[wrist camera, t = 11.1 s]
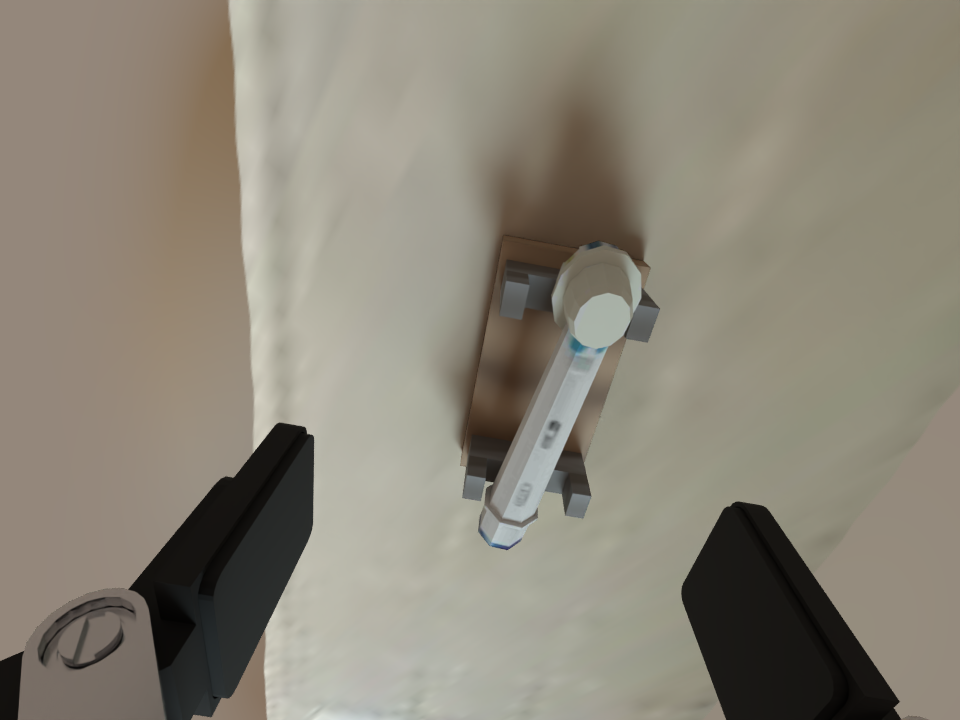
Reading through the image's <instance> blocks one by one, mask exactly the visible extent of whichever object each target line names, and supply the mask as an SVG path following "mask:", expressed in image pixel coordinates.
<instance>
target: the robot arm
mask: <svg viewBox="0 0 960 720" xmlns="http://www.w3.org/2000/svg"><path fill="white" fill-rule="evenodd" d="M313 485H314V437H313V435H310V434H307V430H306V428H305V427H302V426H297V425H291V424H285V423H277V424H276V425H275V426H274V428H273V429H272V430H271V431H270V433H269V434H268V435H267V436H266V438H265V439H264V440H263V441H262V443H261V444H260V445H259V447H258V448H257V449H256V450H255V452H254V453H253V454H252V455H251V457H250V458H249V459H248V460H247V462H246V463H245V464H244V466H243V467H242V468H241V469H240V471H239V472H238V473H237V474H236V476H235V477H234V478H232V477H224V478H222V479H220V480H219V481H218V482H217V483H216V484H215V485H214V486H213V488H212V489H211V490H210V491H209V493H208V494H207V495H206V496H205V498H204V499H203V500H202V501H201V502H200V504H199V505H198V506H197V507H196V508H195V509H194V511H193V512H192V513H191V514H190V516H189V517H188V518H187V519H186V520H185V522H184V523H183V524H182V525H181V527H180V528H179V529H178V530H177V531H176V532H175V534H174V535H173V536H172V537H171V538H170V540H169V541H168V542H167V543H166V545H165V546H164V547H163V548H162V549H161V551H160V552H159V553H158V554H157V555H156V557H155V558H154V559H153V560H152V561H151V563H150V564H149V565H148V566H147V567H146V569H145V570H144V571H143V572H142V574H141V575H140V576H139V577H138V578H137V580H136V581H135V582H134V583H133V584H132V586H131V587H130V588H129V589H128V590H127V589H123V588H112V589H103V590H99V591H95V592H91V593H87V594H85V595H83V596H81V597H78V598H76V599H74V600H72V601H69V602H68V603H66V604H65V605H63V606H62V607H60V608H59V609H57V610H56V611H54V612H53V613H51V614H50V615H49V616H48V617H47V618H46V619H45V620H44V621H43V622H42V623H41V624H40V625H39V626H38V627H37V628H36V629H35V631H34V632H33V634H32V635H31V637H30V638H29V640H28V641H27V643H26V646H25V650H24V651H23V652H20V653H18V654H16V655H13V656H11V657H9V658H7V659H4V660H2V661H0V720H191V718H192V716H193V715H201V716H207V717H212V715H213V713H214V711H215V709H216V707H217V705H218V703H219V701H220V699H221V698H230V697H231V696H232V694H233V693H234V691H235V689H236V688H237V685H238V683H239V681H240V679H241V677H242V675H243V673H244V671H245V669H246V667H247V665H248V663H249V661H250V659H251V657H252V655H253V653H254V651H255V649H256V647H257V644H258V642H259V640H260V638H261V636H262V634H263V632H264V630H265V628H266V626H267V624H268V622H269V620H270V618H271V616H272V614H273V612H274V610H275V608H276V605H277V603H278V601H279V599H280V597H281V595H282V593H283V591H284V589H285V587H286V585H287V583H288V581H289V579H290V577H291V575H292V573H293V571H294V569H295V567H296V564H297V562H298V560H299V558H300V556H301V554H302V552H303V550H304V548H305V546H306V544H307V542H308V540H309V537H310V534H311V531H312V526H313ZM681 595H682V601H683V604H684V607H685V610H686V612H687V615H688V618H689V620H690V623H691V626H692V628H693V631H694V634H695V637H696V639H697V642H698V645H699V647H700V650H701V653H702V656H703V658H704V661H705V664H706V666H707V669H708V672H709V674H710V677H711V680H712V683H713V685H714V688H715V691H716V693H717V696H718V699H719V702H720V704H721V707H722V710H723V712H724V715H725V718H726V720H928V719H925V718H922V717H917V716H907V717H905V718H903V719H901V718H900V717H899V715H898V714H897V712H896V711H895V709H894V707H895V706H896V705H897V704H898V703H899V700H898V699H897V697H896V696H895V694H894V693H893V691H892V690H891V688H890V687H889V685H888V684H887V682H886V681H885V679H884V678H883V677H882V675H881V674H880V672H879V671H878V669H877V668H876V666H875V665H874V663H873V662H872V661H871V659H870V658H869V656H868V655H867V653H866V652H865V650H864V649H863V647H862V646H861V644H860V643H859V641H858V640H857V639H856V637H855V636H854V634H853V633H852V631H851V630H850V628H849V627H848V625H847V624H846V622H845V621H844V620H843V618H842V617H841V615H840V614H839V612H838V611H837V609H836V608H835V607H834V605H833V604H832V602H831V601H830V599H829V598H828V596H827V595H826V593H825V592H824V590H823V589H822V588H821V586H820V585H819V583H818V582H817V580H816V579H815V577H814V576H813V574H812V573H811V571H810V570H809V568H808V567H807V566H806V564H805V563H804V561H803V560H802V558H801V557H800V555H799V554H798V552H797V551H796V549H795V548H794V547H793V545H792V544H791V542H790V541H789V539H788V538H787V536H786V535H785V533H784V532H783V530H782V529H781V528H780V526H779V525H778V523H777V522H776V520H775V519H774V517H773V516H772V514H771V513H770V511H769V510H768V509H767V508H766V507H764V506H762V505H756V504H750V503H744V502H735V503H733V504H732V505H731V506H730V507H726V508H724V510H723V511H722V513H721V515H720V517H719V519H718V520H717V522H716V524H715V526H714V528H713V530H712V532H711V533H710V535H709V537H708V539H707V541H706V543H705V544H704V546H703V548H702V550H701V552H700V554H699V555H698V557H697V559H696V561H695V563H694V565H693V566H692V568H691V570H690V572H689V574H688V576H687V578H686V579H685V581H684V583H683V586H682V591H681Z"/></svg>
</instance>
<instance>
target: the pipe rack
mask: <svg viewBox="0 0 960 720" xmlns="http://www.w3.org/2000/svg"><path fill="white" fill-rule="evenodd" d="M578 250H579V249H576V248H571V247H565V246H560V245H555V244H549V243H544V242H538V241H533V240H528V239H522V238H517V237H511V236H506V235H504V236H503V241H502V246H501V251H500V257H499V262H498V267H497V272H496V278H495V283H494V288H493V293H492V298H491V304H490V309H489V314H488V319H487V325H486V330H485V335H484V340H483V345H482V351H481V356H480V361H479V366H478V372H477V377H476V382H475V387H474V393H473V398H472V403H471V408H470V413H469V419H468V424H467V429H466V434H465V440H464V445H463V450H462V456H461V463H460V466H465V467H466V473H465V481H464V489H463V497H462V498H465V499H471V500H477V501H481V497H482V493H483V488H484V484H485V481H489V482H494V481H495V479H496V477H497V475H498V473H499V470H500V468H501V466H502V464H503V461H504V459H505V457H506V455H507V453H508V450H509V448H510V446H511V444H512V442H513V439H514V437H515V435H516V433H517V431H518V428H519V426H520V424H521V422H522V419H523V417H524V415H525V413H526V411H527V408H528V406H529V404H530V402H531V400H532V397H533V395H534V393H535V391H536V388H537V386H538V384H539V382H540V380H541V377H542V375H543V373H544V371H545V369H546V366H547V364H548V362H549V360H550V357H551V355H552V353H553V351H554V349H555V346H556V344H557V342H558V340H559V338H560V335H561V333H562V330H561V328H560V327H559V326H558V325H557V324H556V323H555V321H554V313H553V306H552V297H551V294H552V292H553V289H554V286H555V284H556V280H557V277H558V274H559V272H560V269H561V267H562V264H563V262H566V261H567V260H568V259H569V258H570V257H571V256H572V255H573V254H574V253H575V252H577V251H578ZM632 261H633V262H634V263H635V265H636V266H637V268H638V269H639V271H640V273H641V300H640V302H639V304H638V306H637V308H636V310H635V311H634V313H633V317H632V319H631V321H630V323H629V325H628V327H627V329H626V331H625V333H624V335H623V336H622V337H621V338H620V339H618V340H617V341H616V342H615V343H613V344H612V345H611V346H608V348H607V350H606V353H605V355H604V357H603V360H602V362H601V364H600V366H599V369H598V371H597V373H596V375H595V378H594V380H593V382H592V384H591V387H590V389H589V391H588V394H587V396H586V398H585V400H584V403H583V405H582V407H581V409H580V412H579V414H578V416H577V418H576V421H575V423H574V425H573V427H572V430H571V432H570V434H569V437H568V439H567V441H566V443H565V446H564V448H563V450H562V452H561V455H560V457H559V459H558V461H557V464H556V466H555V468H554V471H553V473H552V475H551V477H550V480H549V482H548V484H547V486H546V489H545V491H547V492H553V493H559V494H562V497H563V504H564V511H565V516H571V517H577V518H584V515H585V512H586V510H587V507H588V504H589V501H590V499H591V493H590V488H589V484H588V480H587V475H586V471H585V466H584V462H585V459H586V456H587V453H588V450H589V447H590V444H591V441H592V438H593V435H594V432H595V429H596V427H597V424H598V421H599V418H600V415H601V412H602V409H603V406H604V403H605V400H606V397H607V394H608V391H609V389H610V386H611V383H612V380H613V377H614V374H615V371H616V368H617V365H618V362H619V359H620V356H621V354H622V351H623V348H624V345H625V342H626V339H631V340H636V341H642V342H647V343H648V340H649V338H650V335H651V332H652V329H653V327H654V324H655V321H656V318H657V316H658V313H659V310H660V308H659V307H658V306H657V305H656V304H655V302H654V301H653V300H652V299H651V298H650V297H649V295H648V294H647V293H646V292H645V291H644V286H645V283H646V280H647V278H648V275H649V272H650V269H651V268H650V267H649V266H648V265H647V264H646V263H645V262H644V261H641V260H635V259H632Z"/></svg>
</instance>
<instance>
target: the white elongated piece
mask: <svg viewBox="0 0 960 720" xmlns="http://www.w3.org/2000/svg"><path fill="white" fill-rule="evenodd" d="M551 297H552V306H553V313H554V321H555V323H556V324H557V325H558V326H559V327H560V328H561V330H562V333H561V335H560V338H559V340H558V342H557V344H556V346H555V349H554V351H553V353H552V355H551V357H550V360H549V362H548V364H547V366H546V369H545V371H544V373H543V375H542V377H541V380H540V382H539V384H538V386H537V388H536V391H535V393H534V395H533V397H532V400H531V402H530V404H529V406H528V408H527V411H526V413H525V415H524V417H523V419H522V422H521V424H520V426H519V428H518V431H517V433H516V435H515V437H514V439H513V442H512V444H511V446H510V448H509V450H508V453H507V455H506V457H505V459H504V461H503V464H502V466H501V468H500V470H499V473H498V475H497V477H496V479H495V481H494V484H493V485H491V486H489V487H487V489H486V495H485V505H484V507H483V510H482V512H481V515H480V519H479V528H478V532H479V533H480V535H481V536H482V537H483V538H484V540H485V541H486V542H487V543H488V545H489V546H492V547H496V548H500V549H505V550H508V549H510V548H511V547H513V546H514V545H516V544H517V543H519V542H520V541H521V539H522V537H523V535H524V533H525V531H526V529H527V527H528V525H530V524H532V523H533V522H535V521H536V520H537V518H538V508H537V507H538V505H539V502H540V500H541V498H542V495H543V493H544V491H545V489H546V486H547V484H548V482H549V480H550V477H551V475H552V473H553V471H554V468H555V466H556V464H557V461H558V459H559V457H560V455H561V452H562V450H563V448H564V446H565V443H566V441H567V439H568V437H569V434H570V432H571V430H572V427H573V425H574V423H575V421H576V418H577V416H578V414H579V412H580V409H581V407H582V405H583V403H584V400H585V398H586V396H587V394H588V391H589V389H590V387H591V384H592V382H593V380H594V378H595V375H596V373H597V371H598V369H599V366H600V364H601V362H602V360H603V357H604V355H605V353H606V350H607V348H608V346H611V345H612V344H613V343H615V342H616V341H617V340H618V339H620V338H621V337H622V336H623V335H624V333H625V331H626V329H627V327H628V325H629V323H630V321H631V319H632V317H633V313H634V311H635V310H636V308H637V306H638V304H639V302H640V300H641V273H640V271H639V269H638V268H637V266H636V265H635V263H634V262H633V261H632V259H631V258H630V256H629V255H628V254H627V252H626V251H622V250H619V248H618V247H617V246H615V245H612V244H608V243H605V242H601V241H596V242H593V243H590V244H587V245H583V246H580V247H579V250H578V251H577V252H575V253H574V254H573V255H572V256H571V257H570V258H569V259H568V260H567V261H566V262H563V264H562V267H561V269H560V272H559V274H558V277H557V280H556V284H555V286H554V289H553V292H552V294H551Z"/></svg>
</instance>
